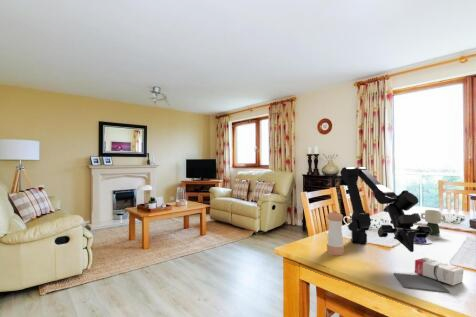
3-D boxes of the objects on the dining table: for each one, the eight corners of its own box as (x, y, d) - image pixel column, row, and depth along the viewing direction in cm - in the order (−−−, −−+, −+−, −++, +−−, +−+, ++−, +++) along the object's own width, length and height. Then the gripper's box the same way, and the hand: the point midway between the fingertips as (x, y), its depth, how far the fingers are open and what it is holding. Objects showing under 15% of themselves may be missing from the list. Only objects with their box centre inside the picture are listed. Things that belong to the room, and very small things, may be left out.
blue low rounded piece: (402, 236, 142) (402, 226, 142) (429, 239, 136) (429, 229, 136) (404, 242, 131) (404, 232, 131) (433, 246, 125) (433, 236, 125)
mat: (403, 287, 86) (403, 286, 86) (393, 273, 96) (393, 272, 96) (449, 292, 83) (449, 291, 83) (434, 277, 93) (434, 276, 93)
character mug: (445, 234, 144) (445, 211, 144) (444, 237, 138) (444, 213, 138) (421, 230, 151) (421, 208, 151) (420, 233, 146) (420, 210, 145)
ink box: (414, 273, 95) (453, 286, 85) (414, 259, 95) (454, 271, 85) (424, 269, 100) (463, 282, 90) (425, 256, 100) (464, 267, 90)
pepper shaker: (331, 248, 123) (331, 208, 123) (346, 252, 118) (346, 210, 118) (324, 252, 118) (323, 211, 118) (339, 256, 113) (339, 213, 113)
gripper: (380, 205, 105) (394, 241, 94) (429, 206, 103) (449, 242, 92) (372, 219, 113) (384, 254, 102) (417, 220, 111) (434, 255, 100)
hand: (412, 251), depth 99 cm, fingers closed
